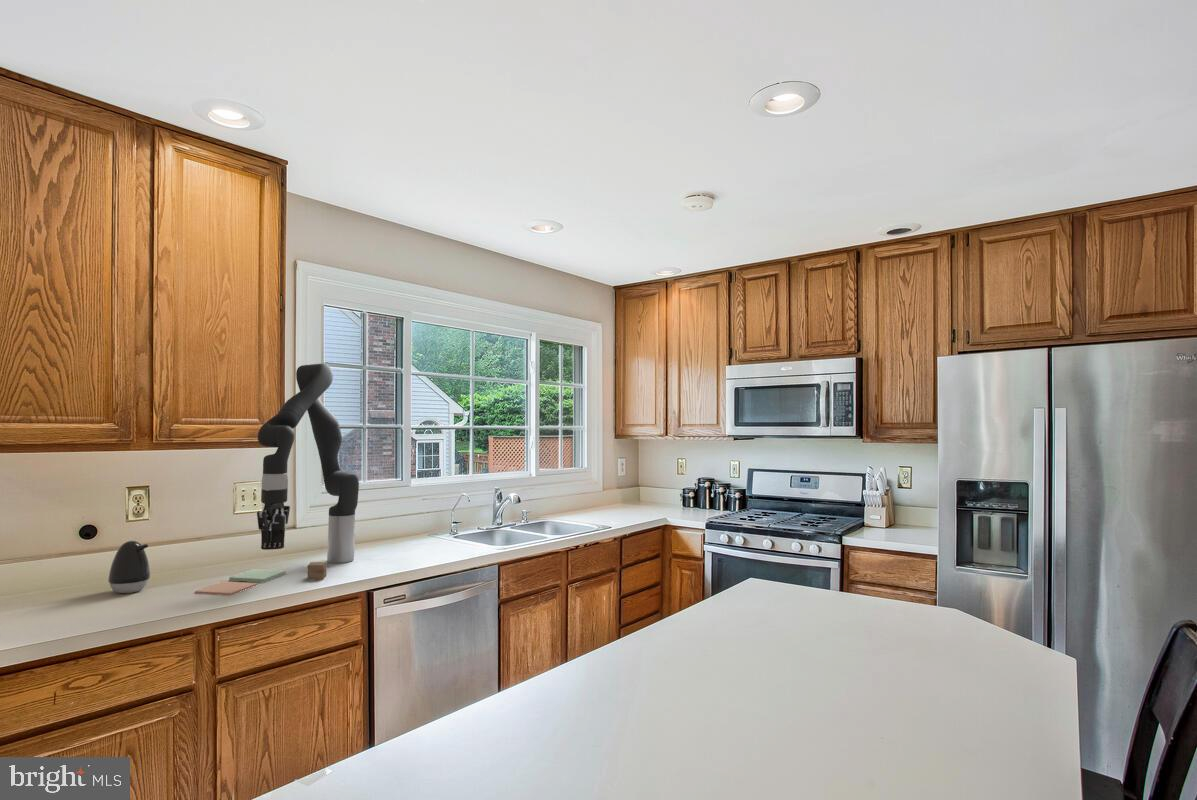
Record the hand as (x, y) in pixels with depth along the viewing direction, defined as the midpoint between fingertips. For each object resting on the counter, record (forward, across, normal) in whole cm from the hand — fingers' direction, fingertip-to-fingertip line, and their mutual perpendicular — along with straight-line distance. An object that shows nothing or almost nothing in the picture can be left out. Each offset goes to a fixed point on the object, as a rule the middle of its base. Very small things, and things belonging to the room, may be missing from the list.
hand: (273, 540), depth 204 cm
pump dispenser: (+14, +15, -36) cm, 42 cm away
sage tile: (+14, -8, -10) cm, 19 cm away
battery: (+3, 0, 0) cm, 3 cm away
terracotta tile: (+15, +7, -10) cm, 19 cm away
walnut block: (+14, -11, +9) cm, 20 cm away
